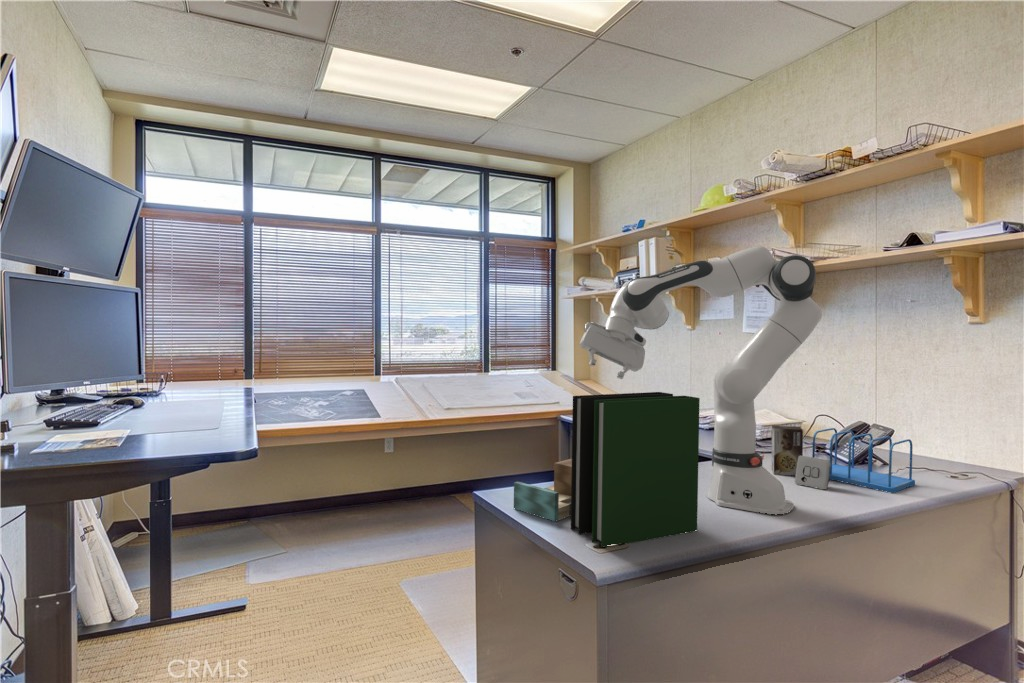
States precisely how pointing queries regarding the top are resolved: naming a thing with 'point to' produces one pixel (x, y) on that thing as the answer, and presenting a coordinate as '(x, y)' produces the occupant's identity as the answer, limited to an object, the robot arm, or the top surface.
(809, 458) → the electrical switch
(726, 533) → the top surface
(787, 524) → the top surface
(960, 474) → the top surface
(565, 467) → the walnut block
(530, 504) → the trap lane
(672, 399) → the binders
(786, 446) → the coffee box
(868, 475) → the file sorter
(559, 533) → the top surface
